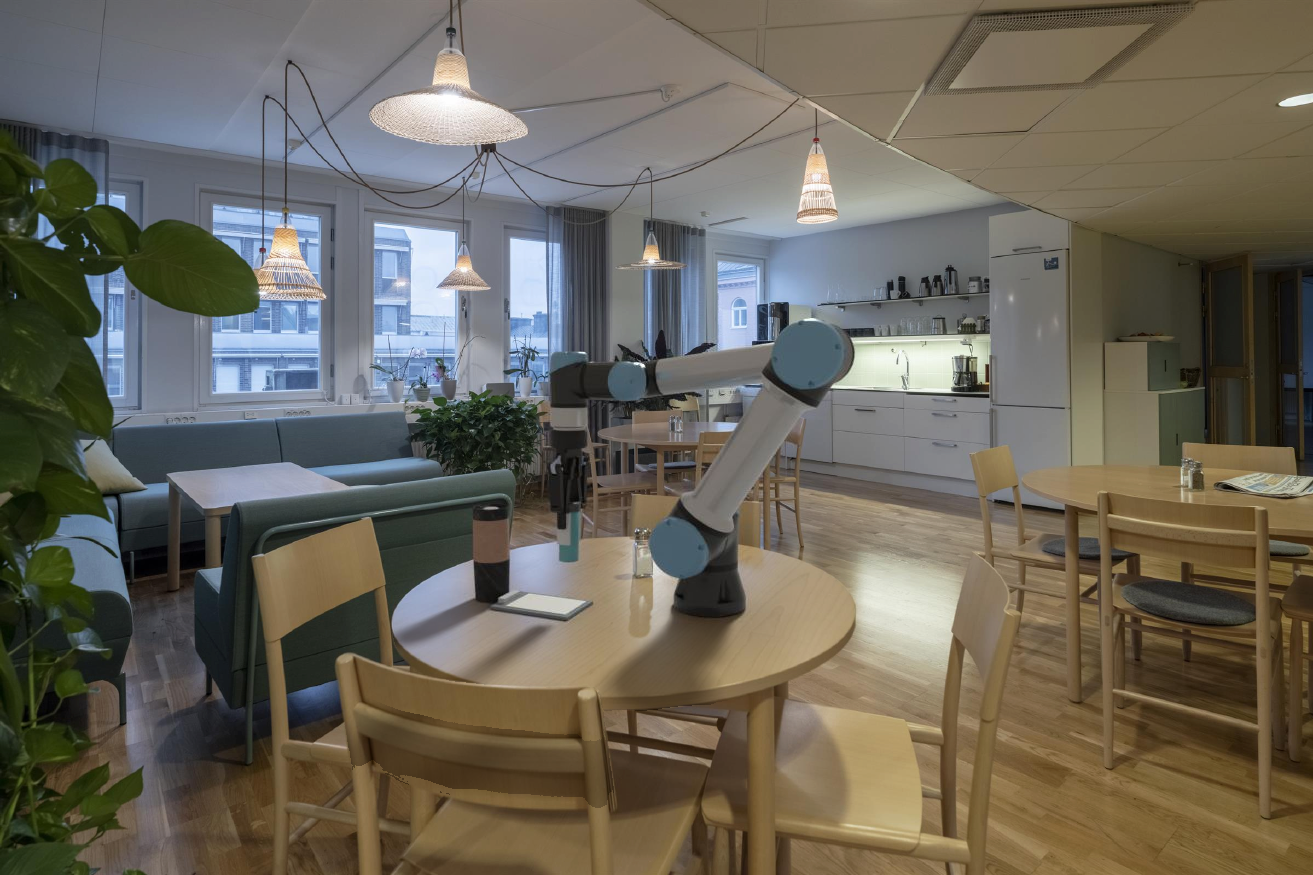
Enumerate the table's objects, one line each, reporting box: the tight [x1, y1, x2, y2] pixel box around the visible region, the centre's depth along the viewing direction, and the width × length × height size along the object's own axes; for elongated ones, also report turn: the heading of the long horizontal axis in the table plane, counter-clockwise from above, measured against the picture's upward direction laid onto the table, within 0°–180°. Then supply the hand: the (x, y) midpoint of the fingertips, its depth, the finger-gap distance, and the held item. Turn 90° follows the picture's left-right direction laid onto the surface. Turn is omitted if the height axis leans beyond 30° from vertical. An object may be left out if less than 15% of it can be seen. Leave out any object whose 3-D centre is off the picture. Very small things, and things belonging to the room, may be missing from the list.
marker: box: [558, 500, 581, 564], centre depth 150 cm, size 4×4×12 cm
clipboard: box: [490, 589, 594, 621], centre depth 153 cm, size 18×11×2 cm, turn 68°
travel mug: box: [472, 502, 511, 604], centre depth 157 cm, size 8×8×20 cm
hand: (569, 541), depth 150 cm, fingers closed on marker, 3 cm apart
